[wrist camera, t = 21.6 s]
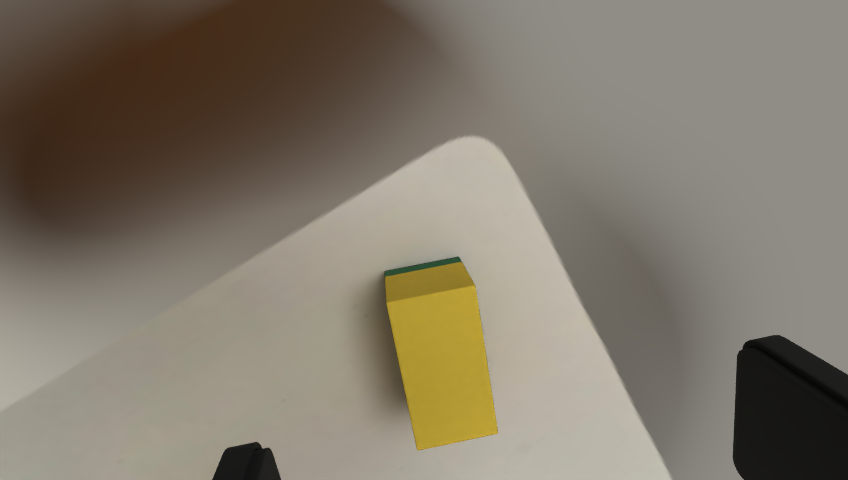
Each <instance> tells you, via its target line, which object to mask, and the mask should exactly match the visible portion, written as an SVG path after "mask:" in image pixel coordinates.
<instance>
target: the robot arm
mask: <svg viewBox="0 0 848 480" xmlns="http://www.w3.org/2000/svg"><path fill="white" fill-rule="evenodd" d="M733 461H734V464H735V467H736V469H737V471H738V473H739V474H740V476H741V477H742V478H743V479H744V480H848V375H847V374H846V373H844V372H842V371H840V370H839V369H837V368H835V367H834V366H832V365H830V364H829V363H827V362H825V361H824V360H822V359H820V358H818V357H817V356H815V355H813V354H812V353H810V352H808V351H807V350H805V349H803V348H802V347H800V346H798V345H796V344H795V343H793V342H791V341H790V340H788V339H786V338H785V337H782V336H780V335H773V336H768V337H763V338H759V339H754V340H749V341H747V342H745V344H744V345H743V350H741V351H739V353H738V355H737V372H736V395H735V419H734V442H733ZM212 480H281V478H280V475H279V472H278V469H277V466H276V462H275V459H274V456H273V453H272V451H271V449H270V448H264V449H262V447H261V445H260V444H259V443H258V442H254V443H249V444H244V445H239V446H234V447H230V448H227V449H226V450H225V451H224V453H223V455H222V457H221V460H220V462H219V465H218V467H217V470H216V472H215V474H214V477H213V479H212Z"/></svg>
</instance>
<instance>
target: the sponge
mask: <svg viewBox="0 0 848 480" xmlns="http://www.w3.org/2000/svg"><path fill="white" fill-rule="evenodd" d="M385 289H386V305H387V310H388V314H389V319H390V324H391V329H392V333H393V338H394V343H395V348H396V352H397V357H398V362H399V367H400V371H401V376H402V381H403V386H404V390H405V395H406V400H407V404H408V409H409V414H410V419H411V423H412V428H413V433H414V438H415V442H416V447H417V450H423V449H428V448H432V447H437V446H442V445H446V444H451V443H456V442H460V441H465V440H470V439H474V438H479V437H484V436H488V435H493V434H497V433H498V430H497V423H496V417H495V410H494V404H493V397H492V391H491V384H490V378H489V371H488V365H487V358H486V352H485V345H484V339H483V332H482V326H481V319H480V312H479V306H478V299H477V293H476V286H475V284H474V282H473V281H472V279H471V277H470V275H469V274H468V272H467V270H466V268H465V266H464V265H463V263H462V261H461V259H460V258H459V257H455V258H450V259H445V260H440V261H434V262H429V263H424V264H419V265H414V266H409V267H404V268H399V269H394V270H388V271H385Z"/></svg>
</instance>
